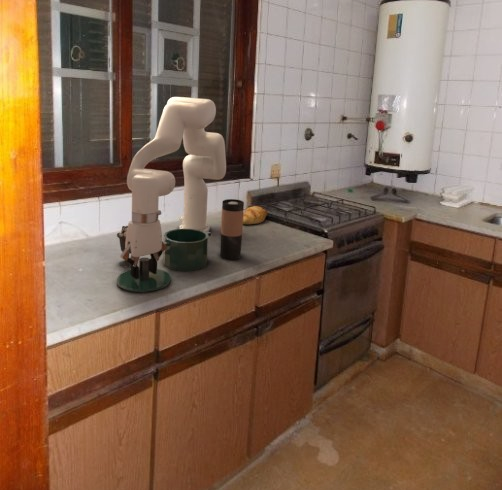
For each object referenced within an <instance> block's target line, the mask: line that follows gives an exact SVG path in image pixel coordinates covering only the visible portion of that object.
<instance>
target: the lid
mask: <svg viewBox="0 0 502 490" xmlns="http://www.w3.org/2000/svg"><path fill="white" fill-rule="evenodd" d="M150 259H151V258H149V257H140V258H139V261H138V266H139V278H138V279H135V278H133V277H132V276H131V269H129V270H126V271H123V272H121V273H120V274H119V275H118V276H117V277H116V284H117V286H118V287H120V288H121V289H123V290H126V291H130V292H134V293H135V292H136V293H145V292H153V291H157V290H161V289H163V288H164V287H167V286H168V285H169V284H170V283H171V279H172V278H171V275H170V274H169V273H168V272H167V271H166V270H163V269H159V268H157V273H156V274H153V273H151V272H150V271H149V262H150Z"/></svg>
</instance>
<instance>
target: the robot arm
mask: <svg viewBox="0 0 502 490" xmlns="http://www.w3.org/2000/svg"><path fill="white" fill-rule="evenodd" d="M216 113H217V107H216V104H215V102H214V101H213V100H211V99H209V98H197V97H184V96H172V97H170V98H169V99H168V100H167V102H166V104H165V106H164V108H163V109H162V113H161V116H160V119H159V122H158V126H157V129H156V133H155V135H154V138H153V139H152V140H150V141H149V142H147V143H146V144H145V145H144V146H142V147H141V148H140V149H139V150H138V151H137V152H136V154H135V155H133V157H132V160H131V163H130V166H129V169H128V172H127V176H126V186H127V188H128V189H129V191H131V220H130V221H128V225H127V226H128V228H127V233H126V243H125V250H124V251H123V252H121V254H120V256H119V257H120V258H121V259H122V260H123V261H127V262H128V263H129V264H130V265H131V266H130V270H131V276H132V277H133V278H135V279H138V278H139V259H140V258H141V257H144V256H148V255H149V256H150V258H149V259H150V262H149V271H150V272H151V273H153V274H156V273H157V269H158V262H159V261H160V257H161V256H163V252H164V250H165V249H166V248H167V246H166V245H165V244H164V243H163V242H162V241H163V232H162V226H161V220H160V219H159V216H160V215H162V210H159V199H160V198H159V197H165V196H168V195H170V194H171V193H172V192H173V191H174V189H175V187H176V178H175V175H174V174H173V173H172V172H170V171H167V170H160V169H153V168H145V167H146V166H147V165H148V164H149V163H150V162H151V161H154V160H155V159H157V158H161V157H163V156H167V155H170V154H173V153H175V152H177V151H178V150H179V149H180V148H181V144H182V142H183V148H184V151H185V153H186V154H188V155H186V156H185V157H184V159H183V160H182V171H183V179H184V181H183V182H184V188H183V189H184V191H183V215H182V216H181V217H179V221H181V224H180V225H178V226H179V227H178V229H184V228H186V229H196V230H201V231H203V232H206V231H208V232H210V229H211V227H210V225H208V224H207V215H208V194H209V193H208V192H209V189H208V185H207V184H206V182H205V180H204V179H206V180H215V181H217V180H218V181H219V180H222V179H223V178H224V177H225V176H226V173H227V157H226V155H227V154H226V144H225V139H224V137H223V135H222V134H220V133H218V132H209V131H206V130H205V128H206V127H208V126H209V125H210V124H211V123H212V122H213V121H214V120H215V118H216V115H217V114H216ZM128 254H129V255H130V256H129V257H128Z"/></svg>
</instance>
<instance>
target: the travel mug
mask: <svg viewBox="0 0 502 490" xmlns="http://www.w3.org/2000/svg"><path fill="white" fill-rule="evenodd" d="M221 204H222V205H221V220H220V246H219V248H220V249H219V251H220V253H219V255H220V258H222V259H223V260H228V261H236V260H238V259H240V257H241V251H242V242H243V231H244V229H243V228H244V224H243V215H244V212H245V210H244V208H245V202H244V200H240V199H235V198H233V199H232V198H229V199H228V198H227V199H224V200H222V201H221Z"/></svg>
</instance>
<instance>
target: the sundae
mask: <svg viewBox="0 0 502 490" xmlns="http://www.w3.org/2000/svg"><path fill="white" fill-rule="evenodd" d="M127 228H128V225H122V226H121V230H120V232H117V233H116V237H117V238H118V239H119V248H120V251H121V253H123V251H124V250H125V243H126V233H127ZM128 257H129V258H130V254H128ZM118 265H120V266H121V267H125V268H127V267H131V265H130V264H129V263H128V262H127V261H125V260H122V261H120V262H119V264H118Z"/></svg>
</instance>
